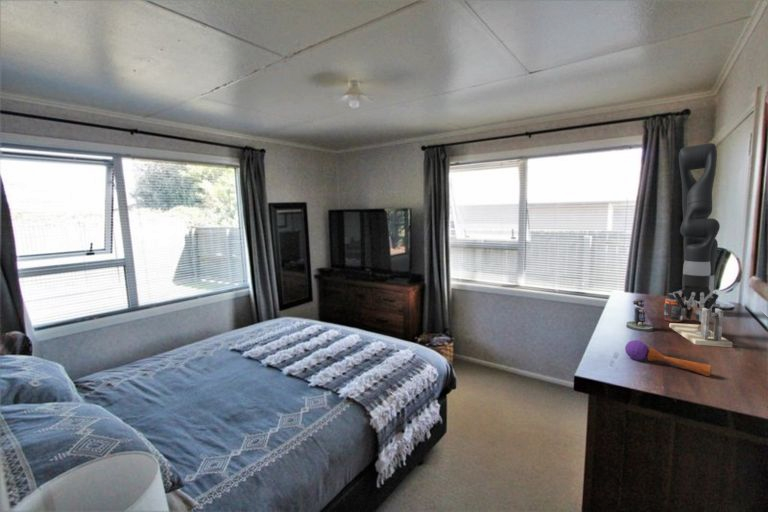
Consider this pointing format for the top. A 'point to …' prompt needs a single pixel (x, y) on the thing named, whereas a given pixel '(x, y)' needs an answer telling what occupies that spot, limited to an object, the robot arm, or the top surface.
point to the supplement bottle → (672, 309)
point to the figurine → (639, 318)
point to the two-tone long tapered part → (663, 357)
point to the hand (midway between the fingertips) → (693, 318)
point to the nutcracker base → (704, 330)
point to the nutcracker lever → (698, 311)
